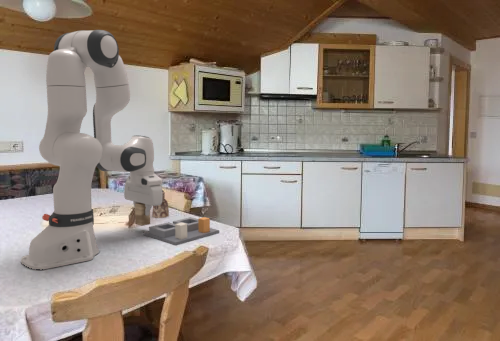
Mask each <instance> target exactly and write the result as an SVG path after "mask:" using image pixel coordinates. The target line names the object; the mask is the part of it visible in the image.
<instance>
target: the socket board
mask: <svg viewBox="0 0 500 341" xmlns="http://www.w3.org/2000/svg"><path fill="white" fill-rule="evenodd" d="M210 223H211V219H210V218H209V217H206V216H205V217H204V216H203V217H199V218H194V217H186V218H182V219H177V220H173V221H172V222H169V221H168V222H164V223H160V224H156V225H151V226H149V227H148V230H147V231H144V232H143V236H146V237H149V238H152V239H155V240H159V241H162V242H163V243H164V242H165V243H167V244H170V245H174V246H178V245H182V244H185V243H188V242H192V241H196V240H199V239H202V238H205V237H209V236H213V235H215V234H216V233H217V234H219V233H220V230H219V229H215V228H212V227H211V224H210Z"/></svg>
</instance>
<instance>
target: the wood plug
mask: <svg viewBox="0 0 500 341" xmlns="http://www.w3.org/2000/svg"><path fill="white" fill-rule="evenodd" d="M145 209H146V207H145V204H143V203H136V204H135V207H134V214H135V217H134V218H135V220H134V224H135V225H138V226H140V227H142V226H148V225H151V214H150V215H148V216H146V215H144V211H145Z"/></svg>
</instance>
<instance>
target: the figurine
mask: <svg viewBox="0 0 500 341" xmlns="http://www.w3.org/2000/svg"><path fill="white" fill-rule="evenodd" d="M162 195H163V196H162V203H161V205H158V206H152V214H151V215H152V218H156V219H163V218H168V217H169V215H170V214H169V213H170V212H169V211H170V210H169V204H168V203H169V202H168V200H167V199H165V196H166V195H165V191H164V190H163V189H162Z"/></svg>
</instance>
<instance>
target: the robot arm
mask: <svg viewBox="0 0 500 341" xmlns="http://www.w3.org/2000/svg"><path fill="white" fill-rule="evenodd" d="M119 52H120V49H119V44H118V41H117V40H116V37H114V35H113V34H112V33H111V32H110V31H107V30H103V29H94V30H86V29H85V30H77V31H76V30H75V31H72V32H66V33H63V34H61V35H60V36H59V37H57V39H56V40H55V42H54V46H53V51H52V52H50V53H49V55H48V57H47V62H46V63H47V65H46V73H45V74H46V80H45V81H46V82H45V83H46V84H45V85H46V98H47V100H46V102H47V118H46V123H45V124H46V125H45V130H44V135H43V137H42V139H41V140H40V142H39V144H38V149H39V154H40V156H41V157H42V158H43V159H44V160H45V161H46V162H48V163H49V164H51V165H53V166H56V167H59V171H58V177H57V181H56V182H55V184H54V185H53V188H52V199H53V212H52V213H51V214H48V213H44V214H43V215H42V217H41V218H42V220H43V221H46V222H48V225H47V226H46V227H45V228H43V230H42V231H40V233H38V234H37V235H36V236H35V237H34V238H33V239H31V240H30V244H29V248H28V254H26V255H24V256H22V257H21V259H20V263H21V264H22V265H23V264H24V265H25V266H24V265H23V266H24V267H26V266H27V267H26V268H28V267H29V269H31V268H32V270H36V269H40V271H43V270H47V269H53V268H58V267H62V266H68V265H72V264H73V265H74V264H77V263H82V262H89V261H92V260H93V259H94V257H95V256H96V255H98V254H99V252H100V249H99V246H98V243H97V241H96V237H95V236H96V235H95V230H94V223H95V219H94V218H95V216H94V209H93V206H92V205H93V204H92V183H93V182H92V181H93V178H94V173H95V170H96V168H97V169H98V170H99V171H101V172H119V173H121V172H122V173H129V176H128V177H127V178H126V180H125V184H124V192H123V194H124V195H123V196H124V199H125V200H127V201H132V202H133V203H132V204H133V206H134V208H135V204H136V203H143V204H145V207H146V209H145V211H144V215H146V216H148V215H150V216H151V209H152V208H153V206H158V205H161V203H162V196H163V195H162V190H163V187H162V185H163V178H161V177H159V175H157V174H156V173H155V168H154V160H155V148H154V142H153V139H152V138H151V137H149V136H146V135H132V136H131V138H130V140H129V141H127V142H125V143H124V144H121V145H120V144H115V143H114V142H113V140H112V127H111V123H112V122H111V121H112V119H113V117H114V116H115V115H116V114H117V113H119V112H122V111H123V110H124V109H125V108H126V107H127V106H128V104H129V102H130V100H131V90H130V84H129V78H128V74H127V73H128V72H127V70H126V67H125V63H124V61H123V59H122V57H121V55H120V54H119ZM87 67H88V68H90V69H91V71H92V73H93V80H94V86H95V95H96V96H95V103H94V105H93V109H92V123H93V124H92V126H93V136H92V135H89V134H88V133H85V132H84V133H83V132H81V129H82V128H81V127H82V123H83V120H84V118H85V116H86V115H87V113H88V105H87V104H88V102H87V101H88V100H87V86H86V84H87V83H86V75H85V71H86V69H87ZM42 269H43V270H42Z"/></svg>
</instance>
